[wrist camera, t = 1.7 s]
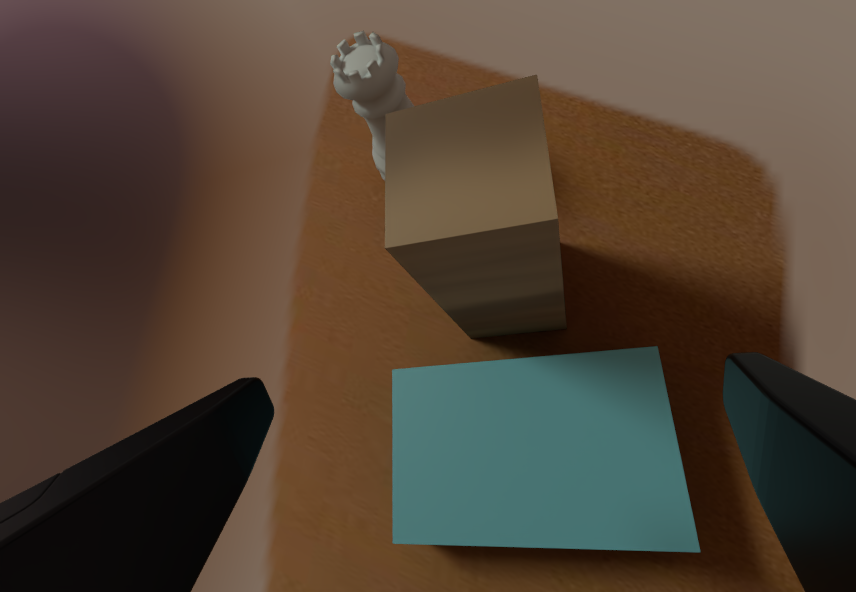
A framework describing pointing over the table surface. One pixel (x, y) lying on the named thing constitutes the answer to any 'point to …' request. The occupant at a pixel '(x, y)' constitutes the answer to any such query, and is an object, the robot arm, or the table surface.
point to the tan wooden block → (477, 208)
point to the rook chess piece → (371, 85)
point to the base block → (540, 454)
